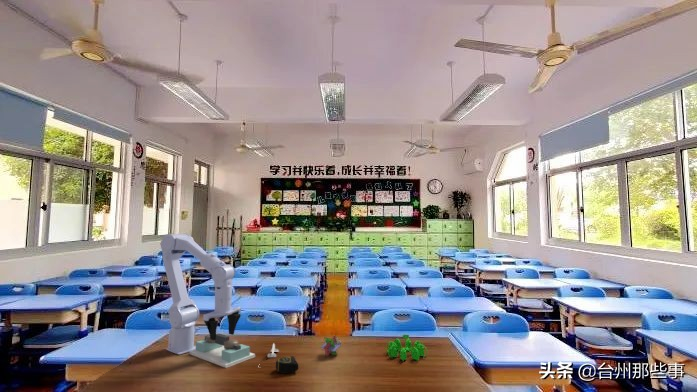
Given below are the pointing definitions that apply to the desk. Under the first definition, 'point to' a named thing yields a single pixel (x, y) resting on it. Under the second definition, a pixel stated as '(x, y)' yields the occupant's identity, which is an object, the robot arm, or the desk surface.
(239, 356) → the stand
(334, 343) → the geometric puzzle
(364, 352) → the desk surface
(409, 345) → the green lumpy cluster
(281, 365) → the tape measure
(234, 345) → the rod with two spheres
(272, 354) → the white tapered piece
